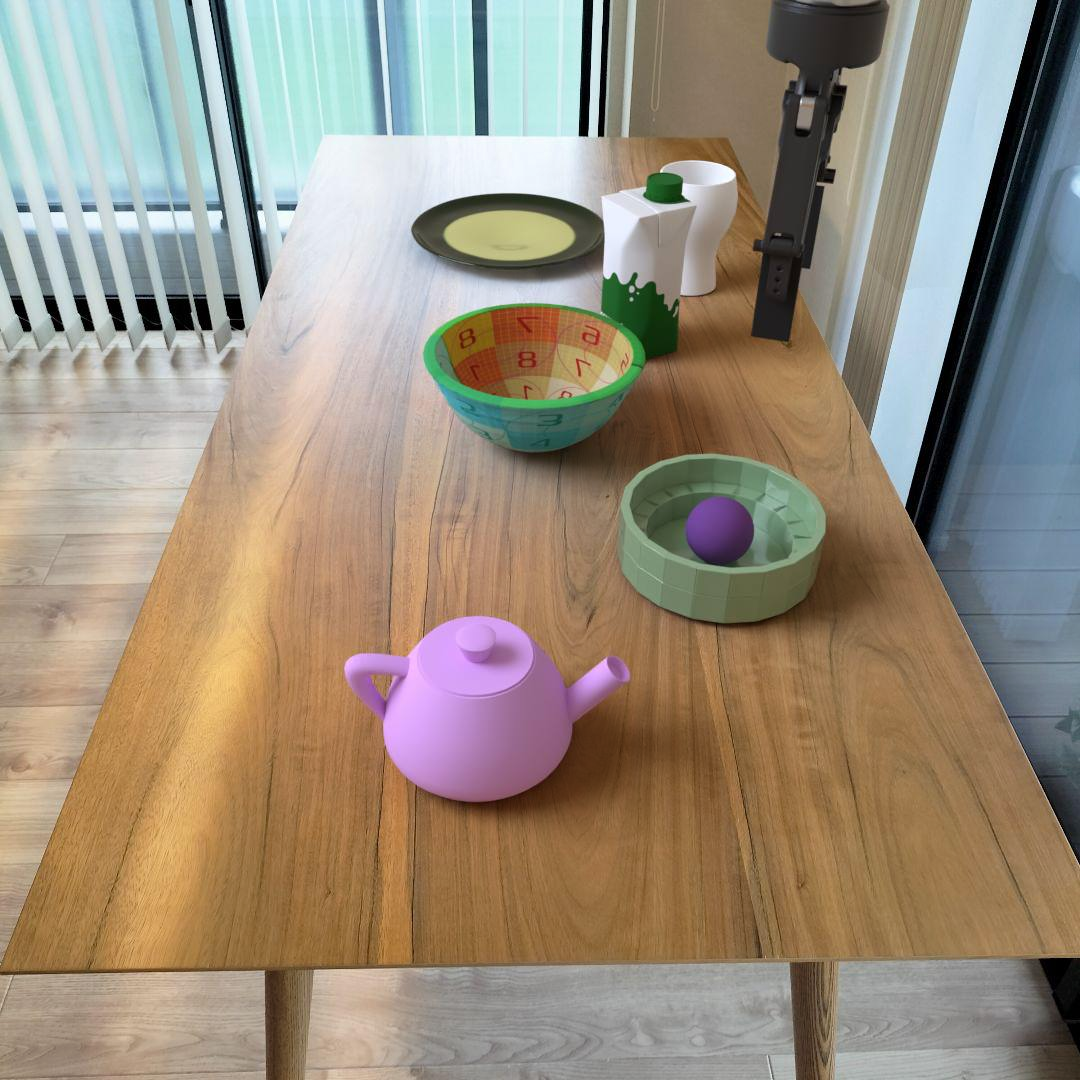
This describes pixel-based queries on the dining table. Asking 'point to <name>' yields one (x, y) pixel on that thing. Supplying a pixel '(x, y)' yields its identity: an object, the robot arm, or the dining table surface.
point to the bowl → (534, 372)
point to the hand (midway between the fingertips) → (782, 299)
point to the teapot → (478, 708)
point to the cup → (705, 219)
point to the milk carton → (646, 259)
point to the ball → (719, 530)
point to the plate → (509, 231)
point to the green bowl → (728, 589)
